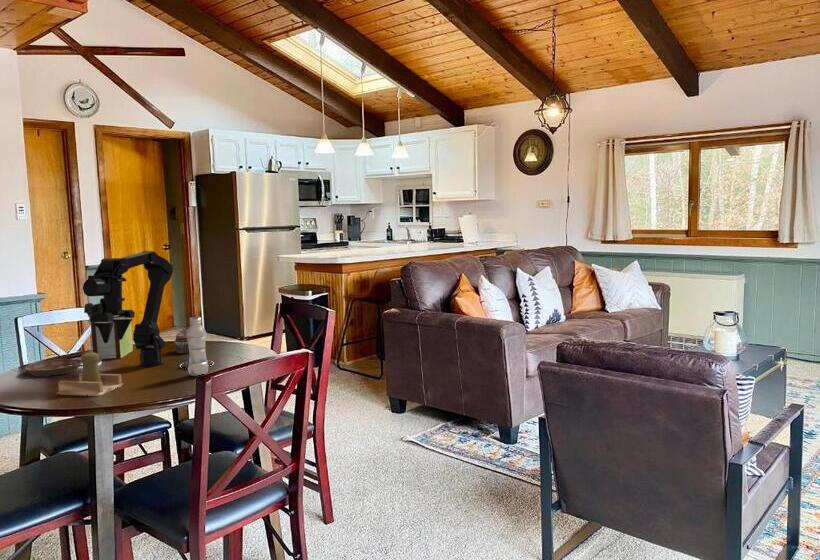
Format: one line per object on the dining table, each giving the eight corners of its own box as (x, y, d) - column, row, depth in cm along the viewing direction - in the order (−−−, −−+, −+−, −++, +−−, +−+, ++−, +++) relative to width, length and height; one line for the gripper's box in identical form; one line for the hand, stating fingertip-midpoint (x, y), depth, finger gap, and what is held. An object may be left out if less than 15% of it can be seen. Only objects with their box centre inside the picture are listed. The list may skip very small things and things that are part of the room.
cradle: (84, 384, 201) (83, 372, 201) (123, 385, 199) (122, 373, 198) (57, 394, 189) (56, 382, 189) (98, 395, 187) (97, 383, 187)
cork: (85, 390, 190) (82, 356, 189) (78, 387, 194) (75, 353, 193) (105, 386, 194) (103, 352, 193) (98, 383, 198) (95, 350, 197)
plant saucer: (29, 369, 224) (28, 361, 223) (84, 364, 231) (83, 356, 231) (21, 381, 208) (20, 372, 207) (80, 374, 215) (80, 366, 215)
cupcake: (181, 349, 254) (180, 325, 252) (203, 349, 252) (202, 325, 251) (170, 354, 244) (168, 329, 243) (193, 354, 243) (192, 329, 242)
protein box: (133, 350, 253) (130, 313, 251) (121, 358, 238) (118, 319, 236) (106, 351, 251) (104, 314, 250) (92, 360, 236) (89, 320, 235)
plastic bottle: (212, 373, 211) (209, 316, 209) (200, 378, 205) (196, 319, 203) (197, 372, 214) (194, 315, 212) (184, 377, 207) (180, 319, 205)
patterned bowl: (219, 362, 229) (219, 348, 229) (205, 370, 218) (204, 356, 217) (189, 362, 231) (188, 348, 230) (173, 370, 219) (172, 356, 218)
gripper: (104, 293, 217) (104, 337, 217) (73, 296, 198) (73, 344, 198) (135, 294, 216) (135, 338, 216) (106, 296, 197) (107, 344, 198)
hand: (113, 341), depth 207 cm, fingers open, 9 cm apart
